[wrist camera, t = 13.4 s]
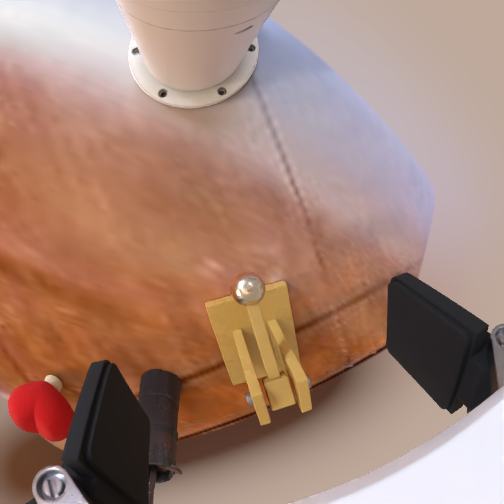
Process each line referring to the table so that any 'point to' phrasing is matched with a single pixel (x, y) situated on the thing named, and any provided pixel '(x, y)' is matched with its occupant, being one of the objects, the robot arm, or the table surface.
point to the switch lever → (262, 338)
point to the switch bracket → (247, 351)
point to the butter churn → (161, 423)
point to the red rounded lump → (41, 409)
